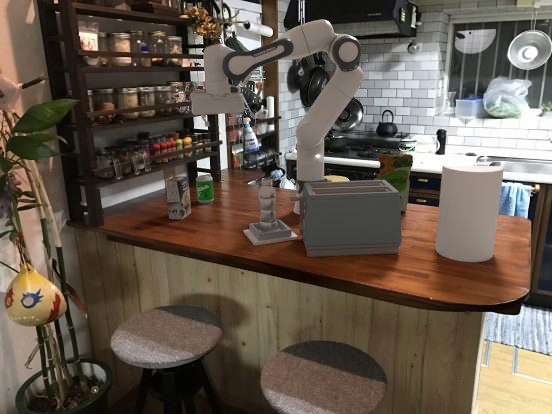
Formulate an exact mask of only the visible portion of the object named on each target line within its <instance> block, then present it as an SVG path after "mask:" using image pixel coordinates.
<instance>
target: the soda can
mask: <svg viewBox="0 0 552 414" xmlns="http://www.w3.org/2000/svg"><path fill="white" fill-rule="evenodd" d="M195 184H196V186H195V187H196V199H197V202H199V204H210V203H212V202H213V201H214V200H215V196H214V195H215V194H214V180H213V177H212V176H211V175H210V174H201V175H198V176H197V177H196V178H195Z"/></svg>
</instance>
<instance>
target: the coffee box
mask: <svg viewBox="0 0 552 414" xmlns="http://www.w3.org/2000/svg"><path fill="white" fill-rule="evenodd" d="M165 185H166V198H167V199H166V201H167V209H168V211H167V212H168V219H169V220H180V221H181V220H182V221H183V220H184V219H186V218H187V217H188V216H189V215H191V214H192V209H191V208H192V207H191V198H190V197H191V196H190V195H191V194H190V185H189V176H187V175H185V176H184V175H183V176H182V175H181V176H178V175H177V176H176V175H175V176H173V177H171V178H169V179H167V180H165Z"/></svg>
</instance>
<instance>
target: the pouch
mask: <svg viewBox="0 0 552 414" xmlns="http://www.w3.org/2000/svg"><path fill="white" fill-rule="evenodd" d="M376 156H377V158H378V163H379V167H377V168H378V170H379V173H378V174H377V176H376V180H386V181H387V182H388V183H389V184H390V185H391V186H393V187H394V188H395V189H396V190H397V191H398V192H399V197H400V211H401V212H406V211H407V207H408V203H409V191H410V184H411V183H410V174H411V172H412V171H411V170H412V168H413V166H414V165H413V164H414V159H413V158H414V156H413V155H412V154H409V153H405V154H397V153H395V152H393V154H388V153H386V154H384V153H382V152H378V153H376Z"/></svg>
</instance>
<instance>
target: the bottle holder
mask: <svg viewBox="0 0 552 414" xmlns="http://www.w3.org/2000/svg"><path fill="white" fill-rule="evenodd" d="M276 220H277V223H278V229H277V231H271V232H264V233H262V232H261V230H260V221H258V222H254V223H253V222H252V223H249V225H248V227H249V229H248V228H247V229H243V233H244V235H245V236H246V237H247V238H248V239H249V241H250V242H251V243H252V244H253V246H261V245H267V244H274V243H280V242H286V241H287V242H288V241H294V240H298V239H299V236H298V235H297V234H296V233H295V232H294V231H292V230H293V229H292V228H290V227H289V226H288V225H287V224H286V223H285V222H284V221H282V220H281V219H276Z"/></svg>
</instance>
